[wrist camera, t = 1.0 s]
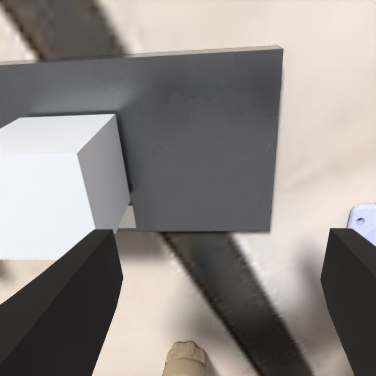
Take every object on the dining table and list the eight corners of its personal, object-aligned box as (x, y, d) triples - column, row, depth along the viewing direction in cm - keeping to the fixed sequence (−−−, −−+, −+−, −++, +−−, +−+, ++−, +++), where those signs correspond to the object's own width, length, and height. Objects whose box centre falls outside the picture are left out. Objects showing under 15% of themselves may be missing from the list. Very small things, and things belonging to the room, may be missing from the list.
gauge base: (277, 45, 15) (323, 70, 9) (266, 216, 20) (289, 314, 14) (-162, 71, 18) (-382, 106, 11) (-78, 219, 23) (-198, 304, 16)
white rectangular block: (115, 114, 16) (76, 153, 11) (135, 231, 19) (112, 296, 15) (20, 117, 16) (-53, 156, 12) (56, 231, 20) (11, 294, 15)
